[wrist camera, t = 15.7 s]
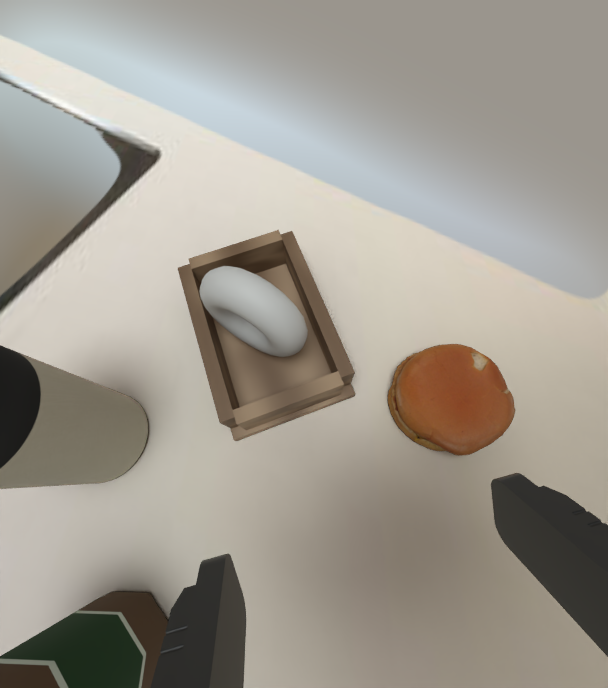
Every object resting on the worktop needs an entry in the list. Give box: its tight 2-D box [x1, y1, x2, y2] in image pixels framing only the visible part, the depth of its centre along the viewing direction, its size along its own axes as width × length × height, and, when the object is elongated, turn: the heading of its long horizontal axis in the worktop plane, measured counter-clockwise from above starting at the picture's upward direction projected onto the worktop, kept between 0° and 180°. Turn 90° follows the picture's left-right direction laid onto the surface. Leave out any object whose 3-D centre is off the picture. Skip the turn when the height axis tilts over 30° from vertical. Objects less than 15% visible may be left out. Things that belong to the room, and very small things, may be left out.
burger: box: [388, 344, 515, 455], centre depth 29 cm, size 10×9×5 cm
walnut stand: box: [178, 230, 355, 441], centre depth 31 cm, size 12×17×5 cm
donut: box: [199, 266, 308, 357], centre depth 28 cm, size 10×4×10 cm, turn 60°
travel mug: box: [0, 346, 148, 489], centre depth 22 cm, size 8×8×18 cm
